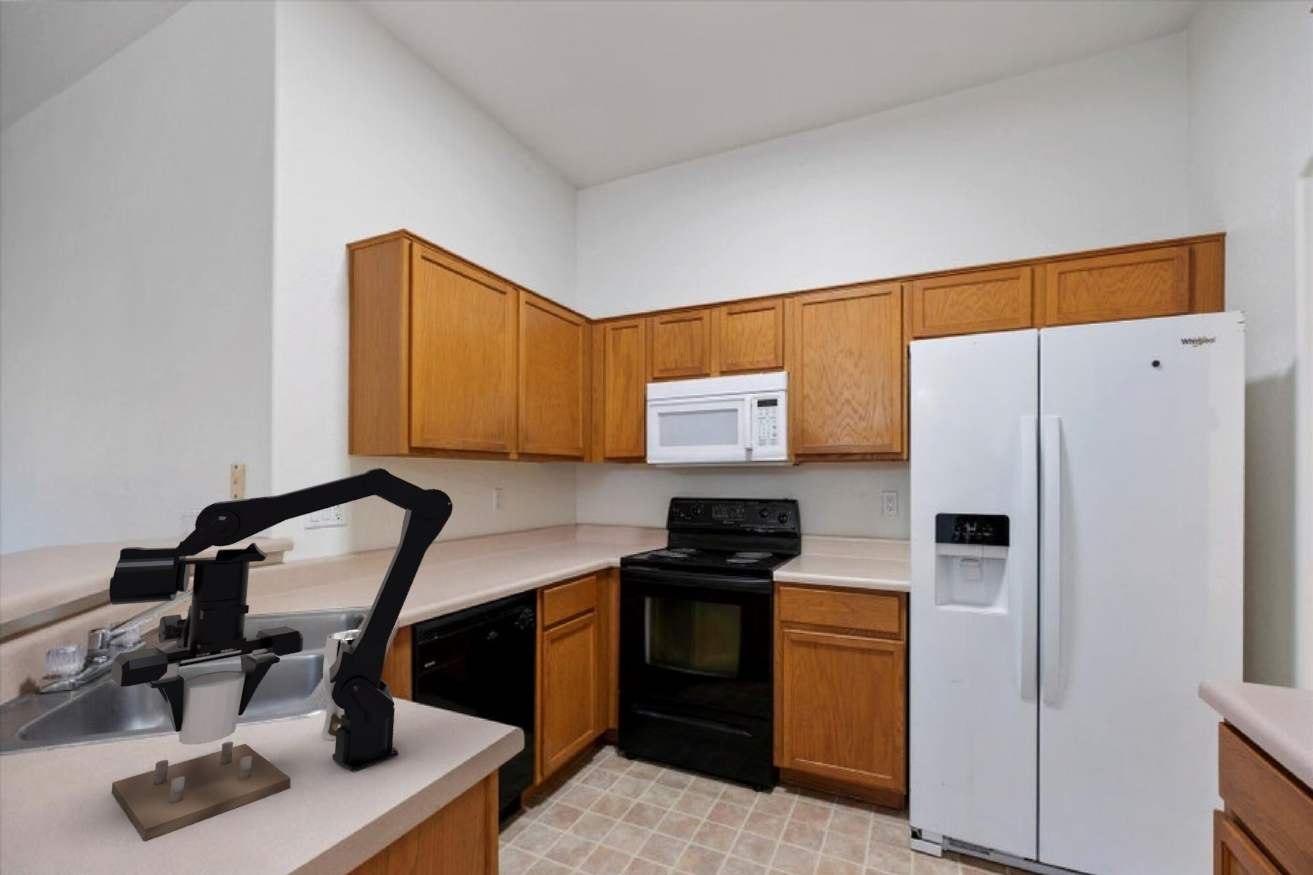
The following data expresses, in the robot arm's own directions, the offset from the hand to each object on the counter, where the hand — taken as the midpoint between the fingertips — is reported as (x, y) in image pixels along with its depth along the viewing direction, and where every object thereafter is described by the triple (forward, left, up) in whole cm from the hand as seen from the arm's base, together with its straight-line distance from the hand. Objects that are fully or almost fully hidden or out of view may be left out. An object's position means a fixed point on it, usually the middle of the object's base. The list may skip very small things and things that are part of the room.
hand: (209, 722), depth 71 cm
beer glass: (-19, -4, -8) cm, 21 cm away
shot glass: (0, 0, -2) cm, 2 cm away
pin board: (0, 0, -8) cm, 8 cm away
